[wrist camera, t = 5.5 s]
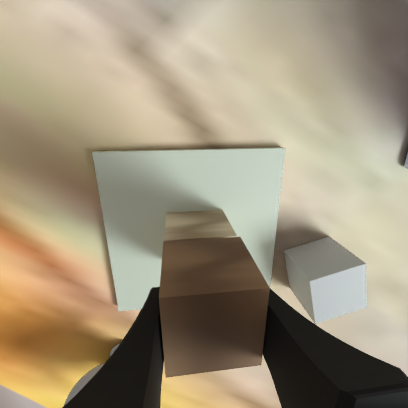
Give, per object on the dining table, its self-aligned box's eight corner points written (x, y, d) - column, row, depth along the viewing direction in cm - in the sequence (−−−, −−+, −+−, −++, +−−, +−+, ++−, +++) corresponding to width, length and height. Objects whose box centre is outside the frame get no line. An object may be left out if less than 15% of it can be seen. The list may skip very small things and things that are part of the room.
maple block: (222, 209, 19) (236, 235, 15) (221, 257, 20) (234, 293, 16) (166, 212, 18) (163, 240, 14) (169, 261, 20) (168, 300, 16)
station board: (281, 147, 18) (285, 148, 18) (266, 292, 23) (269, 296, 22) (94, 151, 17) (92, 152, 16) (120, 306, 21) (118, 311, 21)
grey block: (328, 236, 22) (365, 263, 18) (331, 273, 23) (366, 307, 19) (283, 250, 22) (309, 281, 17) (289, 287, 23) (315, 323, 19)
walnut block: (240, 236, 14) (269, 287, 10) (236, 297, 15) (261, 364, 11) (163, 241, 13) (158, 298, 9) (167, 304, 15) (165, 377, 11)
